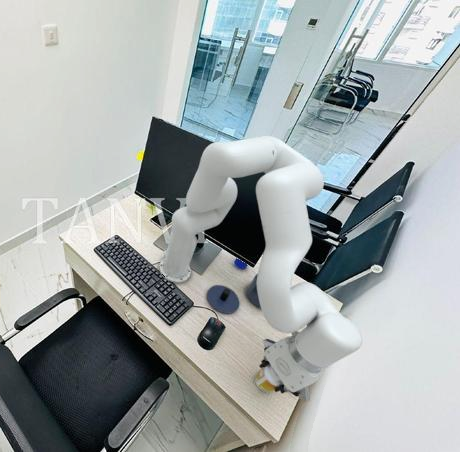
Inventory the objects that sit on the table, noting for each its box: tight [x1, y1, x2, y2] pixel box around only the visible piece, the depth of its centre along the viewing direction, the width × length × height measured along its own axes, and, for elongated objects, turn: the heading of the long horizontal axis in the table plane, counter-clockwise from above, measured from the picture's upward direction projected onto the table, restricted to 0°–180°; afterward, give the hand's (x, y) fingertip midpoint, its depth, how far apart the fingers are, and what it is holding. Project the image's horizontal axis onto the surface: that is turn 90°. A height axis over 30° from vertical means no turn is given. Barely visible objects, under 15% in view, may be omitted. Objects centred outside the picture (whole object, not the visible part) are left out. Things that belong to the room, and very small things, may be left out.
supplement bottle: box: [254, 364, 283, 394], centre depth 70 cm, size 5×5×10 cm
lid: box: [206, 284, 240, 314], centre depth 92 cm, size 11×11×6 cm
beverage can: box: [233, 257, 249, 270], centre depth 101 cm, size 5×5×15 cm
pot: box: [245, 272, 261, 309], centre depth 93 cm, size 10×10×8 cm
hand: (271, 376), depth 70 cm, fingers closed on supplement bottle, 5 cm apart
